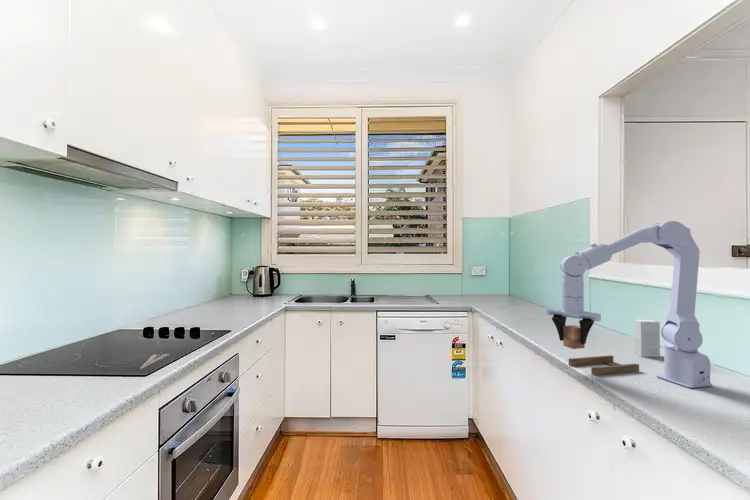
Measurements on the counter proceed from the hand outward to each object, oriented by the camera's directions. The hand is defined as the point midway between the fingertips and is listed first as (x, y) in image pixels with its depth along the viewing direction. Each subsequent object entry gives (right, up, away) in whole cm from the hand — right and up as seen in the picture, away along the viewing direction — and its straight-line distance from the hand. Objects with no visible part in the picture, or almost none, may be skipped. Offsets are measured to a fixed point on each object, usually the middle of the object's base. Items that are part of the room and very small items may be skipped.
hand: (572, 341), depth 113 cm
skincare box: (+34, -9, +17) cm, 39 cm away
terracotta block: (+1, -2, 0) cm, 2 cm away
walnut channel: (+11, -9, +3) cm, 14 cm away
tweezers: (-130, -9, +6) cm, 130 cm away
